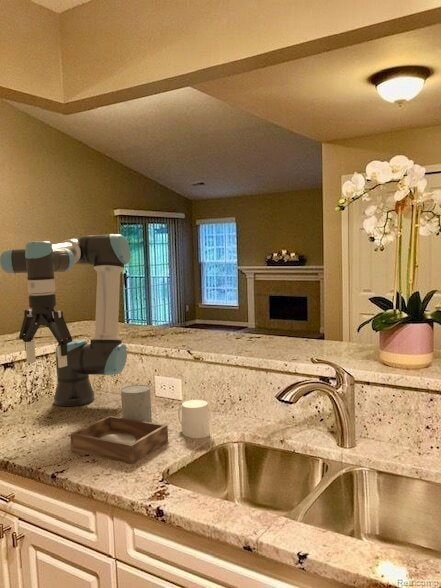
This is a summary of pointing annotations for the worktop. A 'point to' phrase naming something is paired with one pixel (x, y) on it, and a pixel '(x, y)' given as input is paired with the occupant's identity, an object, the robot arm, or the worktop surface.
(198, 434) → the mug
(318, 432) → the worktop surface
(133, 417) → the grey speckled cylinder
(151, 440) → the box
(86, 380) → the robot arm
